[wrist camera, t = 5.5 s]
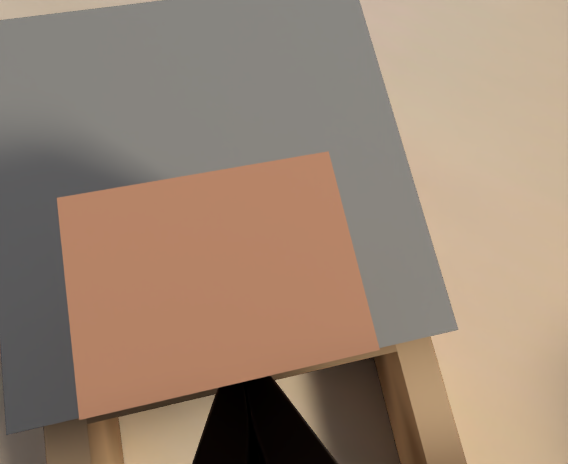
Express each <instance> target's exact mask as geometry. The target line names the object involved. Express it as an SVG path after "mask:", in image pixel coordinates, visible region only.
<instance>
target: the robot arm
mask: <svg viewBox="0 0 568 464" xmlns="http://www.w3.org/2000/svg"><path fill="white" fill-rule="evenodd" d="M192 464H338V463H337V462H336V460H335V459H334V458H333V456H332V455H331V454H330V452H329V451H328V450H327V449H326V447H325V446H324V445H323V443H322V442H321V441H320V439H319V438H318V437H317V435H316V434H315V433H314V431H313V430H312V429H311V428H310V426H309V425H308V424H307V422H306V421H305V420H304V418H303V417H302V416H301V414H300V413H299V412H298V410H297V409H296V408H295V407H294V405H293V404H292V403H291V401H290V400H289V399H288V397H287V396H286V395H285V393H284V392H283V391H282V389H281V388H280V387H279V386H278V384H277V383H276V382H275V380H274V379H273V378H272V376H271V375H270V376H266V377H262V378H258V379H253V380H249V381H245V382H240V383H236V384H232V385H228V386H223V387H219V388H218V389H217V392H216V395H215V398H214V401H213V404H212V407H211V409H210V412H209V415H208V418H207V421H206V424H205V427H204V430H203V433H202V436H201V439H200V442H199V445H198V448H197V451H196V454H195V457H194V460H193V463H192Z"/></svg>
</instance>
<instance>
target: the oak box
mask: <svg viewBox="0 0 568 464" xmlns="http://www.w3.org/2000/svg"><path fill="white" fill-rule="evenodd" d="M371 357H374V360H375V364H376V368H377V372H378V376H379V380H380V384H381V388H382V392H383V396H384V400H385V404H386V407H387V411H388V415H389V419H390V423H391V427H392V431H393V435H394V439H395V443H396V447H397V451H398V455H399V459H400V463H401V464H467V463H466V459H465V456H464V452H463V449H462V445H461V442H460V438H459V435H458V431H457V428H456V424H455V421H454V417H453V414H452V410H451V407H450V403H449V400H448V396H447V393H446V389H445V386H444V382H443V379H442V375H441V372H440V368H439V365H438V361H437V358H436V354H435V351H434V347H433V344H432V340H431V336H429V337H425V338H421V339H416V340H412V341H408V342H403V343H399V344H395V345H391V346H386V347H382V348H380V350H377V351H373V352H369V353H365V354H360V355H356V356H352V357H347V358H343V359H339V360H335V361H330V362H326V363H322V364H318V365H313V366H309V367H305V368H300V369H296V370H292V371H288V372H283V373H279V374H275V375H271V376H272V378H273V379H274V380H277V379H282V378H286V377H290V376H295V375H299V374H303V373H307V372H312V371H316V370H320V369H324V368H329V367H333V366H337V365H341V364H346V363H350V362H354V361H358V360H363V359H367V358H371ZM217 389H218V388H215V389H211V390H206V391H202V392H198V393H193V394H189V395H185V396H181V397H176V398H172V399H168V400H163V401H159V402H155V403H151V404H146V405H142V406H138V407H133V408H129V409H125V410H121V411H116V412H112V413H108V414H103V415H99V416H95V417H91V418H86V419H82V420H79V418H77V419H73V420H69V421H64V422H60V423H56V424H52V425H47V426H43V427H44V439H45V451H46V463H47V464H124V460H123V452H122V443H121V435H120V427H119V419H118V417H120V416H124V415H129V414H133V413H137V412H141V411H146V410H150V409H154V408H158V407H163V406H167V405H171V404H175V403H180V402H184V401H188V400H192V399H197V398H201V397H205V396H209V395H214V394H216V392H217Z"/></svg>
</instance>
